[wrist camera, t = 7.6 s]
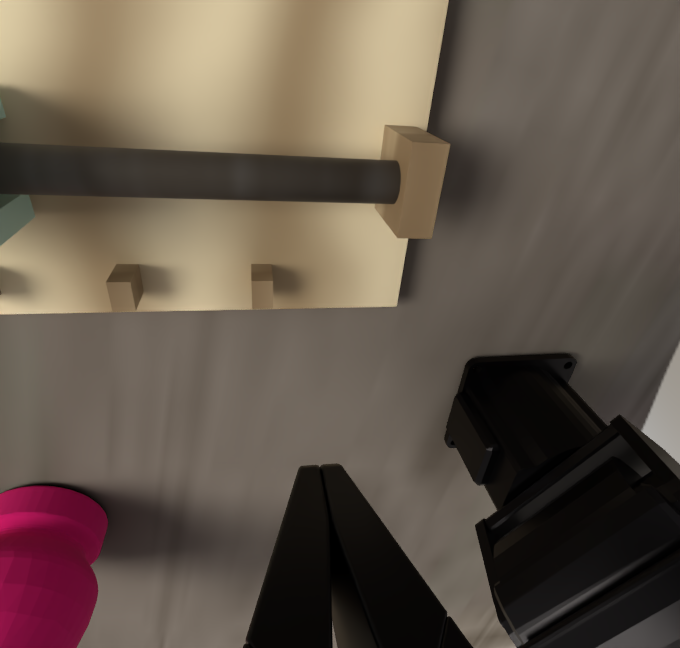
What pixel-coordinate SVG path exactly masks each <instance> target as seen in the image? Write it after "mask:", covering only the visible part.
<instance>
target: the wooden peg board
mask: <svg viewBox="0 0 680 648" xmlns="http://www.w3.org/2000/svg"><path fill="white" fill-rule="evenodd" d="M448 2H449V0H0V98H1V102H2V105H3V109H4V112H5V115H6V117H5V118H2V119H0V194H19V195H29V197H30V200H31V203H32V207H33V210H34V214H35V218H33V219H32V220H31V221H30V222H29V223H27V224H26V225H25V226H24V227H23V228H21V229H20V230H19V231H18V232H17V233H15V234H14V235H13V236H12V237H11V238H9V239H8V240H7V241H6V242H5V243H3V244H2V245H1V246H0V314H43V313H94V312H145V311H196V310H247V309H298V308H348V307H397V302H398V296H399V290H400V284H401V278H402V272H403V266H404V260H405V255H406V249H407V243H408V238H410V239H432V234H433V229H434V224H435V219H436V214H437V209H438V204H439V199H440V194H441V189H442V184H443V179H444V174H445V169H446V164H447V159H448V154H449V149H450V144H449V143H447V142H445V141H443V140H442V139H440V138H438V137H436V136H434V135H432V134H430V133H428V132H426V131H427V125H428V119H429V114H430V108H431V102H432V96H433V90H434V84H435V78H436V72H437V67H438V61H439V55H440V49H441V43H442V37H443V31H444V25H445V19H446V14H447V8H448Z"/></svg>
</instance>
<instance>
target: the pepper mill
mask: <svg viewBox="0 0 680 648" xmlns="http://www.w3.org/2000/svg"><path fill="white" fill-rule="evenodd" d="M107 526H108V520H107V516H106V513H105V511H104V510H103V509H102V508H101V506H100V505H99V504H98V503H96V502H95V501H94V500H92V499H91V498H89V497H88V496H85V495H83V494H80V493H78V492H76V491H73V490H70V489H65V488H61V487H54V486H28V487H20V488H16V489H12V490H8V491H5V492H3V493H1V494H0V648H76V647H77V646H78V644H79V642H80V640H81V638H82V636H83V634H84V632H85V630H86V628H87V627H88V625H89V622H90V619H91V616H92V613H93V610H94V607H95V604H96V601H97V596H98V584H97V580H96V576H95V574H94V572H93V569H92V568H91V566H90V565H91V564H92V563H93V562H94V561H95V560H96V559H97V558H98V556H99V554H100V551H101V548H102V544H103V541H104V537H105V534H106V531H107Z"/></svg>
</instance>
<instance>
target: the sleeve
mask: <svg viewBox="0 0 680 648" xmlns="http://www.w3.org/2000/svg"><path fill="white" fill-rule="evenodd" d="M5 117H6V115H5V112H4V109H3V105H2V102H1V98H0V119H2V118H5ZM33 218H35V214H34V210H33V207H32V203H31V200H30V197H29V195H19V194H0V246H1V245H2V244H3V243H5V242H6V241H7V240H8V239H9V238H11V237H12V236H13V235H14V234H15V233H17V232H18V231H19V230H20V229H21V228H23V227H24V226H25V225H26V224H27V223H29V222H30V221H31V220H32V219H33Z"/></svg>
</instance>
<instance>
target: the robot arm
mask: <svg viewBox="0 0 680 648" xmlns="http://www.w3.org/2000/svg"><path fill="white" fill-rule="evenodd" d="M576 363H577V362H576V359H575V358H573V357H572V356H571V355H570V354H552V355H530V356H507V357H485V358H473V359H471V360H469V361H468V362H467V363H466V365H465V368H464V372H463V375H462V379H461V382H460V386H459V389H458V393H457V394H456V396H455V398H454V401H453V405H452V408H451V412H450V415H449V419H448V422H447V426H446V428H447V431H446V434H445V438H444V440H445V442H446V445H447V446H448V447H449V448H457V450H458V452H459V453H460V455H461V457H462V459H463V461H464V463H465V465H466V467H467V469H468V471H469V473H470V475H471V477H472V479H473V481H474V482H475V483H476V484H477V485H479V486H480V485H484V486H485V488H486V490H487V492H488V494H489V496H490V497H491V499H492V501H493V503H494V505H495V507H496V509H497V511H496V512H495V513H493V514H492V515H491V516H490V517H488V518H487V519H482V520H481V521H480V522H478V523H477V524H476V525H475V528H476V532H477V536H478V540H479V544H480V548H481V552H482V557H483V561H484V565H485V569H486V573H487V577H488V581H489V585H490V590H491V594H492V598H493V602H494V605H495V608H496V612H497V616H498V619H499V622H500V623H501V625H502V626H503V627H504V628H505V630H506V632H507V633H508V635H509V637H510V638H511V640H512V641H513V643H514V644H515V646H516V647H517V648H680V465H679V463H677V462H676V461H675V460H674V459H673V458H672V457H671V456H670V455H669V454H668V453H667V452H666V451H665V450H663V448H661V447H660V446H659V445H658V444H656V443H655V442H654V441H653V440H651V439H650V438H649V437H648V436H646V435H645V434H644V433H643V432H641V431H640V430H639V429H638V428H636V427H635V426H634V425H633V424H631V423H630V422H629V421H627V420H626V419H625V418H624V417H622V416H621V415H620V414H619V415H618V416H617V417H616V418H614V419H613V420H612V421H610V423H611V424H610V425H609V426H607V425H606V424H605V423H604V422H603V421H602V420H601V419H600V418H599V417H598V415H597V414H596V413H595V412H594V411H593V410H592V409H591V408H590V407H589V406H588V405H587V404H586V403H585V401H584V400H583V399H582V398H581V397H580V396H579V395H578V394H577V393H576V392H575V391H574V390H573V389H572V388H571V386H570V385H569V384H568V382H569V379H570V377H571V375H572V373H573V371H574V368H575V366H576ZM476 366H477V367H476ZM475 367H476V368H475ZM474 368H475V369H474ZM332 621H333V626H334V632H335V637H336V642H337V647H338V648H473V647H472V646H471V644H470V643H469V642H468V640H467V639H466V638H465V636H464V635H463V633H462V632H461V631H460V629H459V628H458V626H457V625H456V624H455V622H454V621H453V619H452V618H451V617H450V616H448V617H447V611H446V610H445V609H444V607H443V606H442V604H441V603H440V602H439V600H438V599H437V598H436V596H435V595H434V593H433V592H432V591H431V589H430V588H429V586H428V585H427V584H426V582H425V581H424V579H423V578H422V577H421V575H420V574H419V572H418V571H417V570H416V568H415V567H414V566H413V564H412V563H411V561H410V560H409V559H408V557H407V556H406V554H405V553H404V552H403V550H402V549H401V547H400V546H399V545H398V543H397V542H396V540H395V539H394V538H393V536H392V535H391V534H390V532H389V531H388V529H387V528H386V527H385V525H384V524H383V522H382V521H381V520H380V518H379V517H378V515H377V514H376V513H375V511H374V510H373V508H372V507H371V506H370V504H369V503H368V502H367V500H366V499H365V497H364V496H363V495H362V493H361V492H360V490H359V489H358V488H357V486H356V485H355V483H354V482H353V481H352V479H351V478H350V477H349V475H348V474H347V472H346V471H345V470H344V468H343V467H342V466H341V465H340V464H323V465H321V466H320V467H319V466H318V465H307V466H301V467H300V468H299V469H298V472H297V475H296V479H295V482H294V485H293V488H292V492H291V495H290V498H289V501H288V504H287V508H286V511H285V514H284V517H283V521H282V524H281V527H280V530H279V534H278V537H277V540H276V543H275V546H274V550H273V553H272V556H271V559H270V563H269V566H268V569H267V572H266V575H265V579H264V582H263V585H262V588H261V592H260V595H259V598H258V601H257V605H256V608H255V611H254V614H253V617H252V621H251V624H250V627H249V630H248V634H247V637H246V644H244V646H243V648H332Z"/></svg>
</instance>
